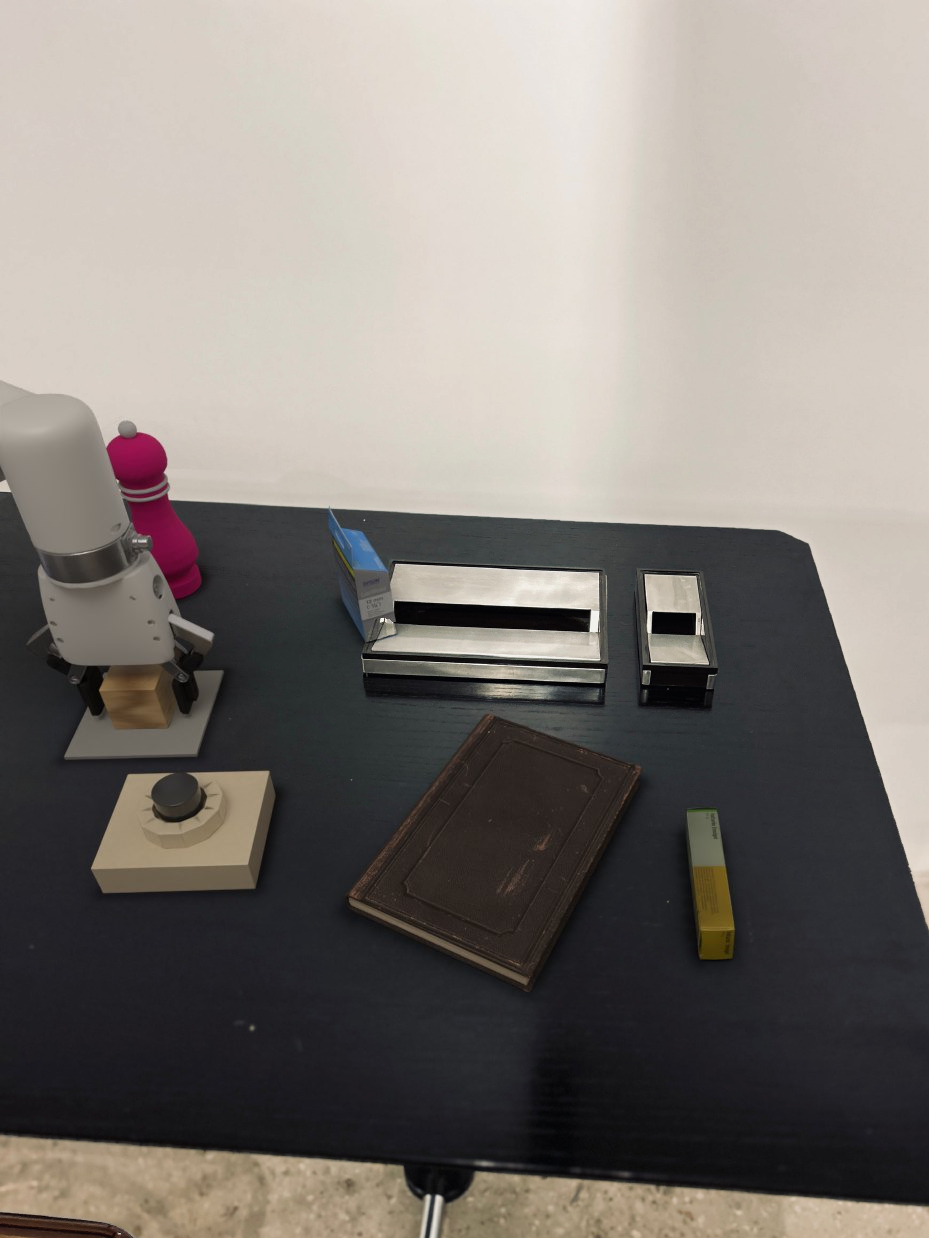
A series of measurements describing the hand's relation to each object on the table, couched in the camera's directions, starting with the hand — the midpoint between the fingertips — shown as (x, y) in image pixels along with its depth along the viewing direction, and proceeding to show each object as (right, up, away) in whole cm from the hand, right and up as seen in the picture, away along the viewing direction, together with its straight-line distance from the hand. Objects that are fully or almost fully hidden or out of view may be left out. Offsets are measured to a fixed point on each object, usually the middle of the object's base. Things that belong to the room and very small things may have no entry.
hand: (145, 704), depth 84 cm
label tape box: (+19, +9, +13) cm, 25 cm away
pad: (0, -1, +1) cm, 1 cm away
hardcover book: (+35, -12, -10) cm, 38 cm away
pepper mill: (-4, +13, +17) cm, 22 cm away
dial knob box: (+9, -11, -11) cm, 18 cm away
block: (0, -1, +1) cm, 1 cm away
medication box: (+51, -15, -14) cm, 55 cm away
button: (+9, -8, -14) cm, 18 cm away
